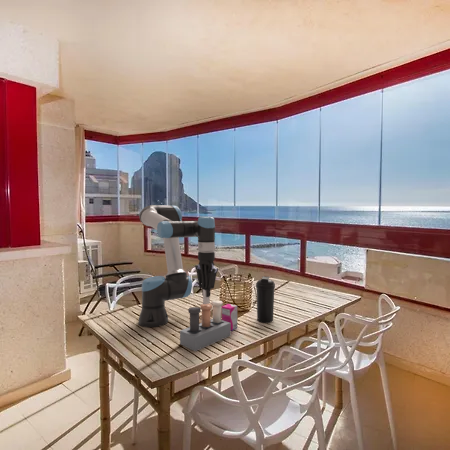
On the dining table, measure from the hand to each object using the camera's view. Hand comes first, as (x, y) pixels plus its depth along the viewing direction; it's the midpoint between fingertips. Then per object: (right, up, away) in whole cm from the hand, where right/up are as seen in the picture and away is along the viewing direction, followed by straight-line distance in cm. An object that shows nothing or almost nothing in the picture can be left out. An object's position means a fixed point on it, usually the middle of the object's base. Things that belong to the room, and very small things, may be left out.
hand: (206, 303), depth 132 cm
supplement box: (+11, -16, +14) cm, 24 cm away
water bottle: (+30, -16, +26) cm, 43 cm away
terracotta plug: (0, -10, 0) cm, 10 cm away
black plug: (-5, -10, -5) cm, 12 cm away
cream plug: (+5, -10, +6) cm, 12 cm away
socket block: (0, -17, +1) cm, 17 cm away
